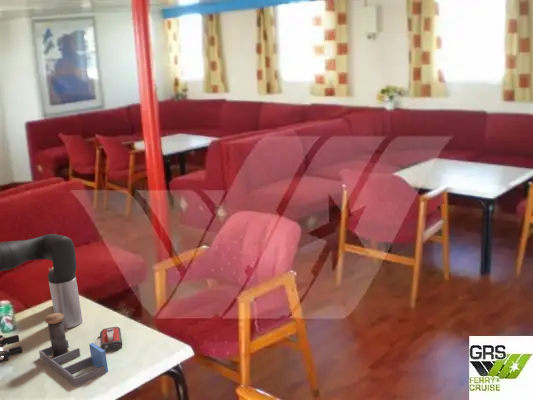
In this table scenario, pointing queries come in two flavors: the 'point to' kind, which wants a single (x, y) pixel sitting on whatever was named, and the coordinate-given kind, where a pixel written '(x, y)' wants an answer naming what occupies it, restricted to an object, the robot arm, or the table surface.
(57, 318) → the cord spool
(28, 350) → the table surface
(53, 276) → the robot arm
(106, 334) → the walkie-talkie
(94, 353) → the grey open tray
